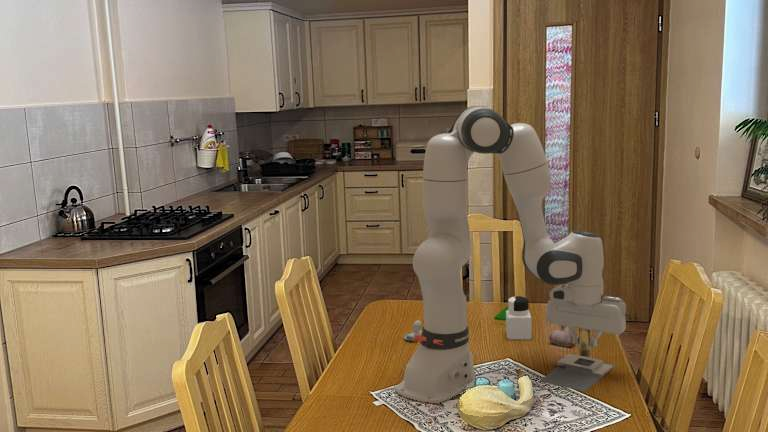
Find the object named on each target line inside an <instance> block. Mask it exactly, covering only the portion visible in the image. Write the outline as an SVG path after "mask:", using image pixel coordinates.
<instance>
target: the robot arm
mask: <svg viewBox="0 0 768 432" xmlns="http://www.w3.org/2000/svg"><path fill="white" fill-rule="evenodd" d="M425 148H426V149H425V153H424V160H423V167H422V168H423V169H422V170H423V172H422V212H423V213H424V216H425V218H426V224H427V228H428V229H427V230H428V237H427V239H426V240H424V241H422V242H421V243H420V244H419V245H418V246H417V248H416V250H415V252H414V254H413V257H412V268H413V270H414V273H415V275H416V276H417V278H418V282H419V286H420V291H421V296H422V306H423V307H422V308H423V326H422V329H421V330H422V332H421V335H420V334H415V336H414V337H415V338H414V340H415V341H414V342H416V343H417V342H418V343H419V346H418V348H417V349H416V350H415V352H414V353H413V354H412V356H411V358H410V359H409V361H408V363H407V364H406V366H405V368H404V374H403V375H404V377H403V380H402V381H400V383H398V384H397V385H396V386H395V387H394V392H397V393H396V394H398V395H399V394H400V395H399V396H401V395H402V397H403V396H404V397H403V398H406V397H407V398H406V399H409V398H410V400H412V399H413V400H412V401H416V400H417V401H416V402H420V401H421V402H422V403H426V402H429V403H428V404H440V402H441V403H444V402H446V401H448V400H450V399H449V398H451V399H453V398H455V397H457V396H456V395H458V394H460V393H462V392H464V391H465V390H467V389H466V388H463V387H465V386H467V385H468V384H470V383H472V382H473V381H475V380H476V376H475V367H474V358H473V353H472V351H471V349H470V347H469V346H470V345H469V341H470V338H469V337H470V331H469V326H468V325H467V322H468V321H467V320H468V318H467V317H468V316H467V312H468V311H467V297H466V295H465V292H464V288H463V284H462V279H461V270H462V267H464V266H465V265H466V264H467V263H468V262H469V260H470V257H471V255H472V251H473V242H472V238H471V234H470V225H469V219H468V218H469V217H468V208H467V207H468V166H469V160H470V158H471V156H472V155H473V154H474V153H477V154H482V155H483V154H495V155H496V156H497V158H498V159H499V162H500V164H501V169H502V173H503V177H504V180H505V183H506V185H507V188H508V191H509V193H510V196H511V197H512V199H513V203H514V206H515V208H516V212H517V215H518V219H519V224H520V229H521V232H522V238H523V239H522V240H523V243H522V244H523V245H522V251H521V260H522V263H523V266H524V268H525V269H526V270H527V271H528V272H529V273H530V274H533V275H535V276H536V277H537V278H538V279H540V281H542V282H543V283H546V284H547V285H551V286H552V285H553V286H555V287H554V288H552V289H551V290H550V291H549V293H548V295H549V300H548V301H547V303H546V304H547V305H546V311H545V313H546V314H545V319H546V321H547V322H548V324H550V325H551V324H552V325H556V326H561V325H562V326H565V327H567V328H568V329H569V332H570V333H571V335H572V337H573V342H572V343H573V344H576V345H579V334H578V333H577V331H576V330H577V329H579V328H581V329H587V330H591V331H593V335H595V336H594V337H591V339H590V340H589V343H590V344H589V346H591V348H593V347H594V348H596V347H597V345H598V340H599V338H600V336H601V335H602V333H604V334H605V333H606V334H613V335H619V336H620V335H622V333H623V332H625V330H626V328H627V325H626V324H627V321H626V312H627V304H626V302H625V301H624V300H623V299H621V298H620V297H616V296H615V297H614V296H608V295H604V278H603V270H604V265H605V264H604V262H605V259H604V247H603V241H602V239H601V237H600V236H598V235H597V234H595V233H593V232H590V231H588V230H587V231H586V230H572V231H571V232H570V233H569V234H568V235H567V236H566V237H564V238H563V239H561V240H559V241H557V242H554V241H553V240H552V238H551V237H550V235H549V234H548V229H547V226H546V221H545V217H544V214H543V213H544V212H543V207H542V205H543V201H544V198H545V197H546V196H547V195H548V193H549V192H550V190H551V188H552V185H551V183H552V182H551V181H552V180H551V173H550V167H549V163H548V160H547V157H546V153H545V150H544V148H543V145H542V142H541V140H540V138H539V136H538V133H537V131H536V130H535V128H534V126H532V125H530V124H529V123H523V122H516V123H512V124H510V123H509V122H508V121H506V119H505V118H504V117H503V116H501V114H500V113H498V112H497V111H495V110H493V109H492V108H490V107H488V106H485V105H472V106H468V107H466V108H465V109H463V110H462V111H461V112H460V113H459V115H457V118H455V121H454V122H453V124H452V126H451V128H450V130H449V132H448V133H439V134H437V135H434V136H432V137H431V138H430V139H429V140H428V141H427V144H426V147H425ZM462 394H463V393H462ZM460 395H461V394H460ZM454 396H455V397H454ZM458 396H459V395H458ZM452 397H453V398H452ZM447 399H448V400H447ZM445 400H446V401H445ZM443 401H444V402H443ZM421 402H420V403H421Z"/></svg>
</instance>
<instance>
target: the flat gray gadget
mask: <svg viewBox="0 0 768 432" xmlns="http://www.w3.org/2000/svg"><path fill="white" fill-rule="evenodd" d="M603 363H604V360H601V359H598V358H597V359H596V358H592V357H589V356H580V355H579V354H578V355H577V354H573V353H567V354H566V355H564V356H563V357H562V358H561V359H559V360H557V361H556V365H557V366H565V367H566V370H570V371H574V372H579V373H583V374H588V375H593V376H597V377H602V376H603V377H604V376H605V375H606V374H607V373H609V372H610V371H611V370H612V369H613V368H612V365H613V364H611V365H607V364H608V363H606V364H603ZM579 364H584V365H588V366H584V365H579ZM609 370H610V371H609ZM603 377H602V378H603Z"/></svg>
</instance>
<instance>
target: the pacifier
mask: <svg viewBox="0 0 768 432" xmlns="http://www.w3.org/2000/svg"><path fill="white" fill-rule="evenodd" d="M421 328H422V322H421V320H419V319H417V320H415V321H414V323H413V325H412V329H413V332H411V333H407V334H405V336H404V337H403V338H404V340H405V341H412V342H416V341H415V340H414V338H415V337H414V336H415V334H420V335H421V332H422V329H421Z"/></svg>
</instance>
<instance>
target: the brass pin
mask: <svg viewBox="0 0 768 432" xmlns="http://www.w3.org/2000/svg"><path fill="white" fill-rule="evenodd" d="M578 336H579V344H578V356H583V357H590V356H591V355H592V352H591V351H592V346H589V344H590V343H589V340H590V339H591V338H592V330H587V329H581V328H578Z"/></svg>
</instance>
